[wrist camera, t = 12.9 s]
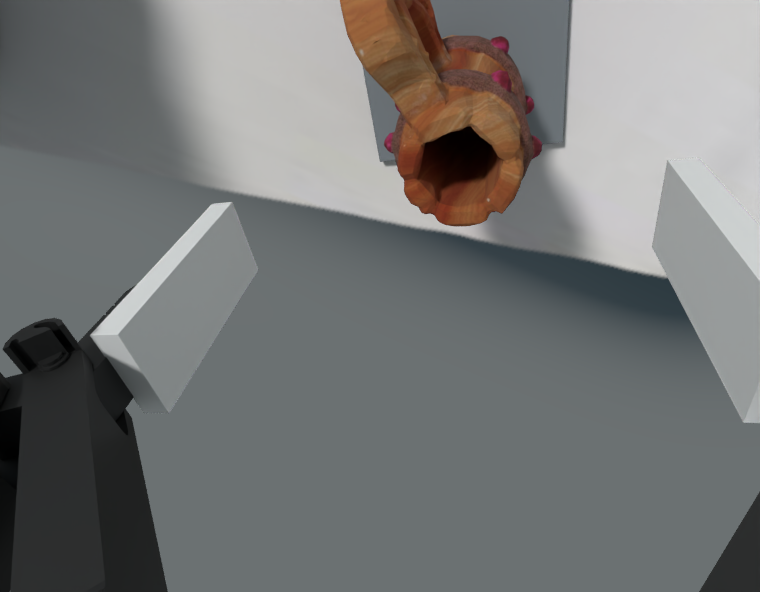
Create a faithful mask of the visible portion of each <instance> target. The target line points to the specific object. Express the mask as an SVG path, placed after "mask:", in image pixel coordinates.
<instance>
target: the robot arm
mask: <svg viewBox="0 0 760 592" xmlns="http://www.w3.org/2000/svg"><path fill="white" fill-rule="evenodd" d="M652 248H653V250H654V251H655V253H656V255H657V257H658V259H659V261H660V263H661V265H662V267H663V269H664V271H665V273H666V275H667V277H668V278H669V280H670V282H671V284H672V286H673V288H674V290H675V292H676V294H677V296H678V298H679V300H680V302H681V303H682V305H683V307H684V309H685V311H686V313H687V315H688V317H689V319H690V321H691V323H692V325H693V327H694V329H695V331H696V332H697V334H698V336H699V338H700V340H701V342H702V344H703V346H704V348H705V350H706V352H707V353H708V355H709V358H710V359H711V361H712V363H713V365H714V367H715V369H716V371H717V373H718V375H719V377H720V379H721V381H722V383H723V385H724V387H725V388H726V390H727V392H728V394H729V396H730V398H731V400H732V402H733V404H734V406H735V408H736V409H737V411H738V413H739V415H740V417H741V419H742V421H743V423H760V224H759V223H758V222H757V221H756V220H755V219H754V218H753V217H752V215H751V214H750V213H749V212H748V211H747V210H746V209H745V208H744V207H743V205H742V204H741V203H740V202H739V201H738V200H737V199H736V198H735V197H734V195H733V194H732V193H731V192H730V191H729V190H728V189H727V188H726V187H725V186H724V184H723V183H722V182H721V181H720V180H719V179H718V178H717V177H716V176H715V174H714V173H713V172H712V171H711V170H710V169H709V168H708V167H707V166H706V165H705V163H704V162H703V161H702V160H701V159H700V158H699V157H697V158H686V159H676V160H667V165H666V171H665V177H664V182H663V188H662V193H661V199H660V205H659V210H658V216H657V222H656V227H655V233H654V238H653V244H652ZM257 272H258V267H257V265H256V262H255V259H254V257H253V254H252V252H251V249H250V246H249V244H248V241H247V239H246V236H245V233H244V231H243V228H242V226H241V223H240V220H239V218H238V215H237V213H236V210H235V208H234V205H233V202H227V203H217V204H212V205H211V206H210V207H209V208H208V209H207V210H206V211H205V212H204V213H203V214H202V215H201V216H200V217H199V218H198V219H197V221H196V222H195V223H194V224H193V225H192V226H191V227H190V228H189V229H188V230H187V231H186V232H185V233H184V235H183V236H182V237H181V238H180V239H179V240H178V241H177V242H176V243H175V244H174V245H173V247H172V248H171V249H170V250H169V251H168V252H167V253H166V254H165V255H164V256H163V257H162V258H161V259H160V260H159V261H158V263H157V264H156V265H155V266H154V267H153V268H152V269H151V270H150V271H149V272H148V273H147V274H146V275H145V277H144V278H143V279H142V280H141V281H140V282H139V283H138V284H137V285H135V286H134V287H132V288H131V289H129V290H128V291H126V292H125V293H124V294H123V295H122V296H121V297H120V298H119V300H118V301H117V302H116V303H115V306H112V307H111V308H110V309H109V310H108V311H107V312H106V315H103V317H102V318H101V319H100V320H99V321H98V322H97V323H96V324H95V325H94V326H93V327H92V328H91V329H90V330H89V331H88V333H87V334H86V335H85V336H84V337H83V338H82V339H81V340H80V341H79V342H78V343H77V341H76V340H75V338H74V337H73V336H72V334H71V333H70V332H69V330H68V329H67V327H66V326H65V325H64V323H63V322H62V320H60V319H55V318H52V319H45V320H41V321H38V322H35V323H33V324H31V325H29V326H27V327H25V328H23V329H21V330H20V331H19V332H17V333H16V334H14V335H13V336H12V337H11V338H10V339H9V340H8V341H7V342H6V343H5V345H4V348H3V350H4V352H5V353H6V354H7V355H8V356H9V357H10V359H11V360H12V361H13V362H14V363H15V364H16V366H17V367H18V368H19V369H20V370H21V371H22V373H23V374H19V375H15V376H11V377H8V378H5V377H4V376H3V375H2V374H1V373H0V592H168V591H167V586H166V582H165V576H164V571H163V567H162V562H161V557H160V552H159V547H158V542H157V538H156V533H155V529H154V523H153V518H152V514H151V509H150V504H149V499H148V494H147V489H146V484H145V480H144V475H143V470H142V465H141V460H140V455H139V451H138V446H137V441H136V436H135V431H134V427H133V422H132V418H131V416H130V415H129V413H128V412H127V410H126V409H125V408H126V407H127V406H128V404H129V403H130V401H131V400H132V399H133V398H134V400H135V401H136V403H137V404H138V405H139V407H140V408H141V410H142V411H143V413H170V411H171V409H172V408H173V406H174V405H175V403H176V401H177V399H178V398H179V397H180V395H181V393H182V392H183V390H184V389H185V387H186V385H187V384H188V382H189V381H190V379H191V377H192V376H193V374H194V373H195V371H196V369H197V368H198V366H199V365H200V363H201V361H202V360H203V358H204V357H205V355H206V353H207V352H208V350H209V349H210V347H211V345H212V344H213V342H214V341H215V339H216V337H217V336H218V334H219V333H220V331H221V329H222V328H223V326H224V325H225V323H226V321H227V320H228V318H229V317H230V315H231V313H232V312H233V310H234V308H235V307H236V305H237V304H238V302H239V301H240V299H241V297H242V296H243V294H244V292H245V291H246V289H247V288H248V286H249V285H250V283H251V281H252V280H253V278H254V276H255V275H256V273H257ZM699 592H760V492H759V494H758V496H757V497H756V499H755V501H754V502H753V504H752V506H751V507H750V509H749V511H748V512H747V514H746V515H745V517H744V519H743V520H742V522H741V524H740V525H739V527H738V529H737V530H736V532H735V534H734V535H733V537H732V539H731V540H730V542H729V544H728V545H727V547H726V549H725V550H724V552H723V554H722V555H721V557H720V558H719V560H718V562H717V563H716V565H715V567H714V568H713V570H712V572H711V573H710V575H709V577H708V578H707V580H706V581H705V583H704V585H703V586H702V588H701V590H700V591H699Z"/></svg>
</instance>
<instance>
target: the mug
mask: <svg viewBox="0 0 760 592" xmlns="http://www.w3.org/2000/svg"><path fill="white" fill-rule="evenodd" d="M340 3H341V8H342V13H343V18H344V22H345V26H346V31H347V35H348V37H349V39H350V41H351V44H352V46H353V48H354V50H355V52H356V55H357V56H358V58H359V60H360V61H361V63H362V65H363V67H364V68H365V70H366V71H367V72H368V73H369V74H370V75H371V76H372V78H373V79H374V80H375V81H376V82H377V83H378V84H379V85H380V86H381V87H382V88H383V89H384V90H385V91H386V92H387V93H388V94H389V96H390V97H391V98H392V100H393V101H394V102H395V107H396V109H397V110H398V111H399V112H400V115H399V117H398V120H397V124H396V128H395V132H392V133H389V135H388V136H387V137H386V139H385V141H384V146H385V148H386V149H387V150H388V151H389V152H390V153H393V154H394V157H395V160H396V163H397V167H398V172H399V174H400V175H401V177H402V178H403V179H404V192H405V195H406V197H407V198H408V200H409V201H410V203H411V204H413V205H415V206H417V207H419V209H420V211H421V212H422V213H424V214H430V213H431V214H433V215H435V217H436V219H437V220H438V221H439V222H440V223H443V224H445V225H450V226H472V225H475V224H479V223H482V222H484V221H486V220H487V218H488V216H489V214H490V213H491V212H495V211H497V212H499V213H503V212H504V211H505V209H506V208H507V207H508V206H509V204H510V203H511V202H512V201H513V200H514V198H515V196H516V194H517V191H518V189H519V187H520V184H521V181H522V179H523V177H524V176H525V173H526V170H527V168H528V166H529V163H530V161H531V159H533V158H535V157H537V156H538V155H539V154H540V152H541V150H542V142H541V141H540V140H539V139H538V138H537V137H536V136H533V135H531V133H530V128H529V125H528V121H527V118H526V115H527V114H529V113H530V112H532V110H533V109H534V101H533V99H532V98H531V97H530V96H527V95H525V90H524V86H523V82H522V78H521V75H520V73H519V70H518V68H517V66H516V64H515V63H514V61H513V59H512V58H511V56H510V55H509V54H508V51H509V42H508V40H507V39H506V38H505V37H502V36H499V37H495V38H492V39H491V40H488V39H486V38H483V37H480V36H459V35H450V36H447V37H444V38H441V36H440V33H439V31H438V27H437V23H436V18H435V14H434V10H433V7H432V4H431V1H430V0H340Z"/></svg>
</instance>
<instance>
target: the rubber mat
mask: <svg viewBox="0 0 760 592" xmlns="http://www.w3.org/2000/svg"><path fill="white" fill-rule="evenodd" d="M430 1H431V4H432V7H433V10H434V14H435V18H436V23H437V27H438V31H439V33H440V36H441V38H444V37H447V36H450V35H459V36H480V37H483V38H486V39H488V40H491V39H492V38H495V37H499V36H502V37H505V38H506V39H507V40H508V42H509V51H508V54H509V55H510V56H511V58H512V59H513V61H514V63H515V64H516V66H517V68H518V70H519V73H520V75H521V78H522V82H523V86H524V90H525V95H527V96H530V97H531V98H532V99H533V101H534V109H533V110H532V112H530V113H529V114H527V115H526V118H527V121H528V125H529V128H530V133H531V135H533V136H536V137H537V138H538V139H539V140H540V141H541V142H542V144H549V143H559V142H563V124H564V103H565V81H566V59H567V37H568V15H569V0H430ZM363 70H364V76H365V81H366V87H367V92H368V98H369V103H370V109H371V115H372V120H373V126H374V131H375V137H376V142H377V148H378V153H379V159H380V162H382V161H391V160H395V157H394V154H393V153H390V152H389V151H388V150H387V149H386V148H385V146H384V141H385V139H386V137H387V136H388V135H389V133H392V132H395V128H396V124H397V120H398V117H399V115H400V112H399V111H398V110H397V109H396V107H395V102H394V101H393V100H392V98H391V97H390V96H389V94H388V93H387V92H386V91H385V90H384V89H383V88H382V87H381V86H380V85H379V84H378V83H377V82H376V81H375V80H374V79H373V78H372V76H371V75H370V74H369V73H368V72H367V71H366V70H365V68H364V67H363Z"/></svg>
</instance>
